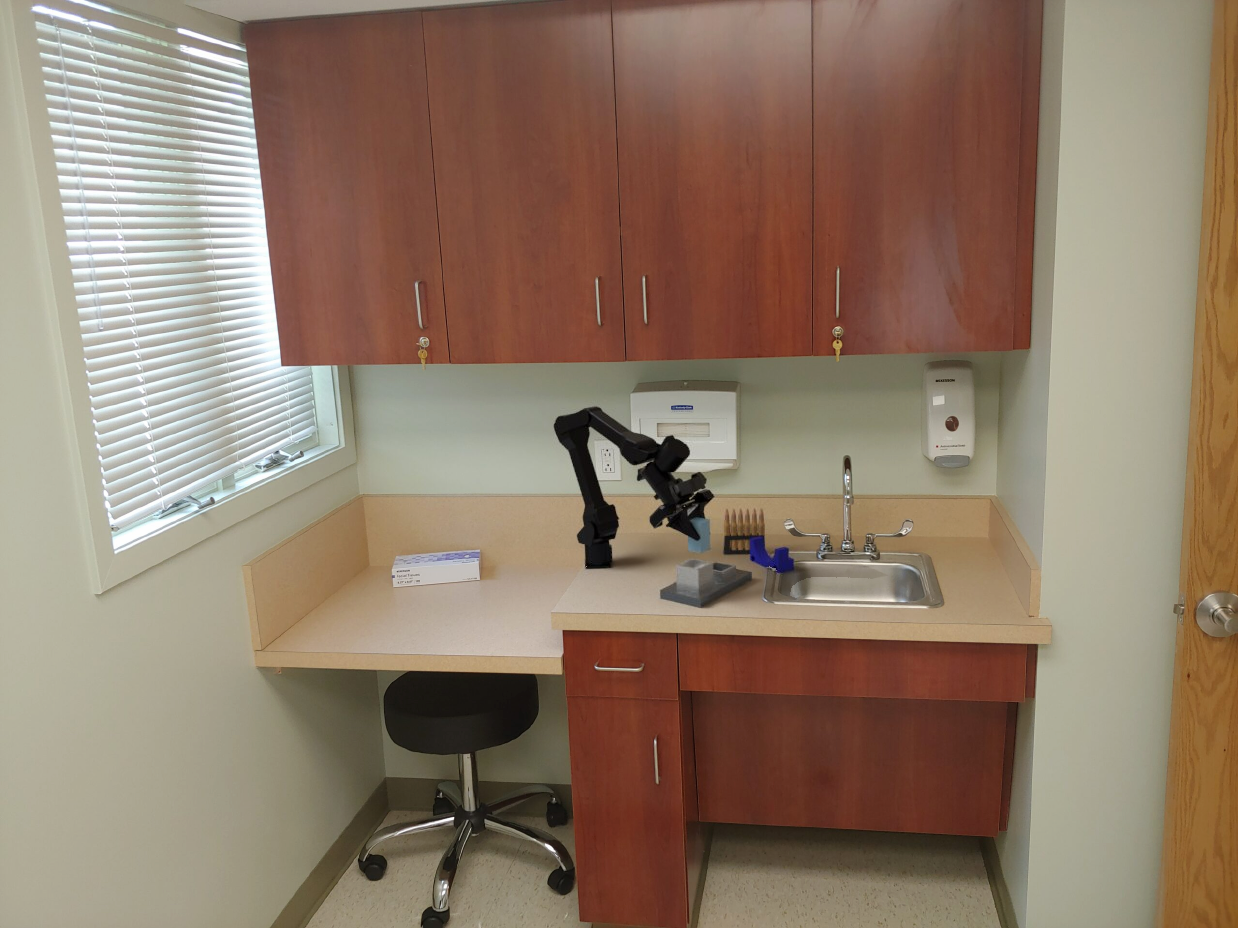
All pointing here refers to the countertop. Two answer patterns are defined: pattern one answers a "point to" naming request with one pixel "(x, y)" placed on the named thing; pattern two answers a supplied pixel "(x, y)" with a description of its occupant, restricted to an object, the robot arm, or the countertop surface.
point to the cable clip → (762, 558)
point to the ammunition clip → (742, 532)
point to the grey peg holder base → (703, 582)
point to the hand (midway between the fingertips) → (704, 537)
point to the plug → (704, 533)
